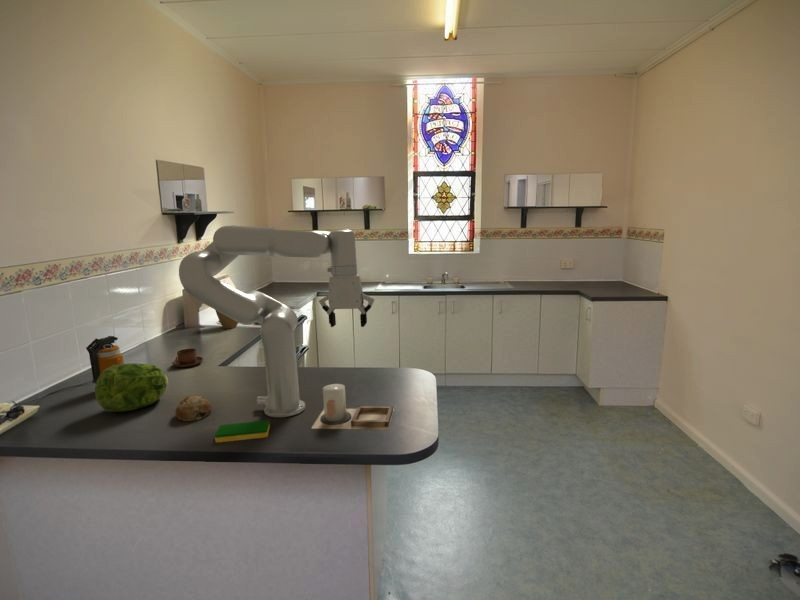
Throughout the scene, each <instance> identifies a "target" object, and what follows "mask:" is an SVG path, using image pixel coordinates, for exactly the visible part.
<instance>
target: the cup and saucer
mask: <svg viewBox="0 0 800 600" xmlns="http://www.w3.org/2000/svg"><path fill="white" fill-rule="evenodd" d="M176 355H177V356H176V357H175V360H173V361H172V362H171V364H172V365H173V366H174V367H175V368H176V367H177V368H190V367H193V366H197V365H199V364H200V363H202V362H203V360H204V358H203V357H202V356H198V355H197V349H195V348H185V349H181V350H178V351H177V352H176Z"/></svg>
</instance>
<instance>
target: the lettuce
mask: <svg viewBox="0 0 800 600" xmlns="http://www.w3.org/2000/svg"><path fill="white" fill-rule="evenodd" d="M168 387H169V378H168V376H167V374H165V372H164V370H163V369H162V368H161V367H159V366H157V365H154V364H148V363H137V362H135V363H132V362H131V363H124V364H121V365H114V366H111V367H108V368H107V369H106V370H104V371H103V372H102V373H101V374H100V375H99V377H98V379H97V382H96V383H95V388H94V392H95V393H94V396H95V399H96V402H97V403H98V405H99V406H100V407H101V408H102V409H103V410H104V411H107V412H116V413H118V412H119V413H123V412H124V413H125V412H130V411H133V410H138V409H142V408H145V407H147V406H148V407H149V406H150V405H152V404H154V403H155V402H156V401H157V400H160V398H162V396H163V395H164V393H166V392H167V389H168Z"/></svg>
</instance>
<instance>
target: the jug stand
mask: <svg viewBox="0 0 800 600" xmlns="http://www.w3.org/2000/svg"><path fill="white" fill-rule="evenodd" d="M394 411H395V408H394V406H384V405H383V406H377V405H376V406H373V405H372V406H371V405H369V406H368V405H367V406H363V405H362V406H361V405H360V406H357V408H346V413H347V417H346V418H345V419H343V420H340V421H327V420H326V419H325V414H324V408H323V410H322V411H321V412H320V414H319V415H318V417H317V418H316V420H315V421H314V423H313V424H312V426H311V429H315V430H325V429H327V430H379V431H380V430H382V431H383V430H387V431H388V430H389V429H390V425H391V423H392V422H391V421H392V418H393V415H394ZM311 429H310V430H311Z"/></svg>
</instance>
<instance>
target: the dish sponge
mask: <svg viewBox="0 0 800 600" xmlns="http://www.w3.org/2000/svg"><path fill="white" fill-rule="evenodd" d="M270 424H271V423H270V420H269V419H267V420H258V421H257V420H256V421H249V422H248V421H247V422H239V423H238V422H236V423H226V424H220V425H219V426H218V428H217V430H216V433H215V434H214V439H215V443H223V442H235V441H243V440H244V441H245V440H252V439H264V438H268V436H269V432H270V427H271V425H270Z"/></svg>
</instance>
